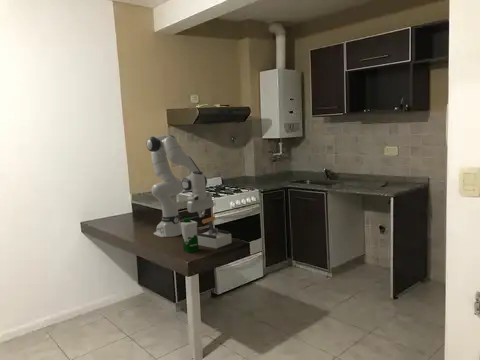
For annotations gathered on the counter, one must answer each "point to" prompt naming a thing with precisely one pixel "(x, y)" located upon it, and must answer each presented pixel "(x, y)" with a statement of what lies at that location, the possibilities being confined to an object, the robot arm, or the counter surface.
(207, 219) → the lever
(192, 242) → the milk carton
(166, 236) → the robot arm
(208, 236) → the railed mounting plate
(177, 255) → the counter surface
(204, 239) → the box
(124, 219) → the counter surface
